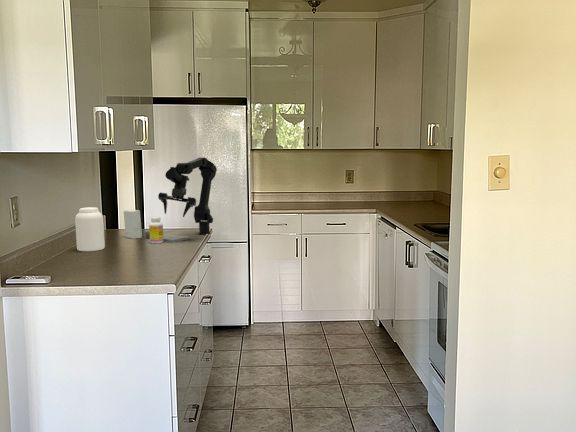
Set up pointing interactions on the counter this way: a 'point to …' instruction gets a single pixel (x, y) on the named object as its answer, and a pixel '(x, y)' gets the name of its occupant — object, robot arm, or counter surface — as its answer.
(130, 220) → the skincare box
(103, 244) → the white jar
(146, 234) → the dark grey thick disc
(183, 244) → the counter surface
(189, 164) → the robot arm
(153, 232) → the supplement bottle
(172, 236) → the grey flat square piece
